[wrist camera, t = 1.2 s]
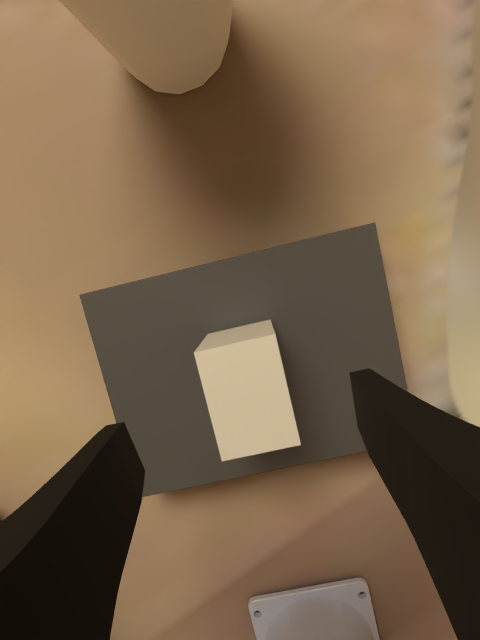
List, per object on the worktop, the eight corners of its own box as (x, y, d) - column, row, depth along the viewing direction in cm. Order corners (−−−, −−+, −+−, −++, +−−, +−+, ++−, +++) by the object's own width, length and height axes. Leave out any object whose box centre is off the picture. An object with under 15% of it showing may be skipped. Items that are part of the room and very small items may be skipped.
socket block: (396, 419, 24) (417, 440, 21) (152, 470, 25) (138, 497, 22) (358, 229, 22) (375, 222, 19) (101, 291, 23) (79, 294, 20)
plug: (285, 386, 24) (301, 444, 16) (232, 398, 24) (221, 461, 16) (268, 312, 23) (275, 333, 15) (214, 325, 23) (193, 352, 15)
